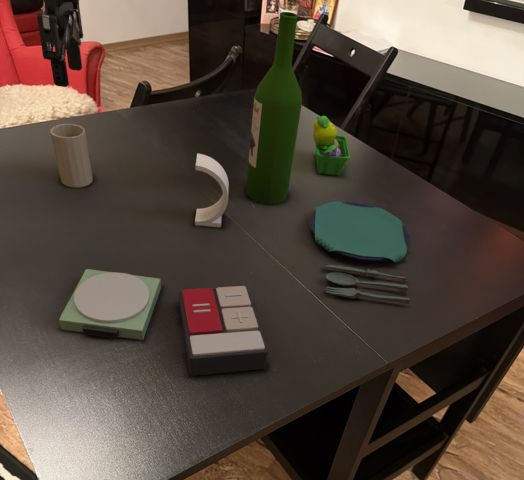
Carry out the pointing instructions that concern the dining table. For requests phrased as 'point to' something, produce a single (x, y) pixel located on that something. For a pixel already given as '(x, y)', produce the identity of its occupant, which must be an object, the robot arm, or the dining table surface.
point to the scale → (111, 305)
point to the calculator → (221, 331)
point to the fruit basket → (329, 147)
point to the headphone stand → (214, 212)
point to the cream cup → (72, 155)
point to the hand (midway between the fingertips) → (68, 77)
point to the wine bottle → (275, 122)
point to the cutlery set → (360, 243)
